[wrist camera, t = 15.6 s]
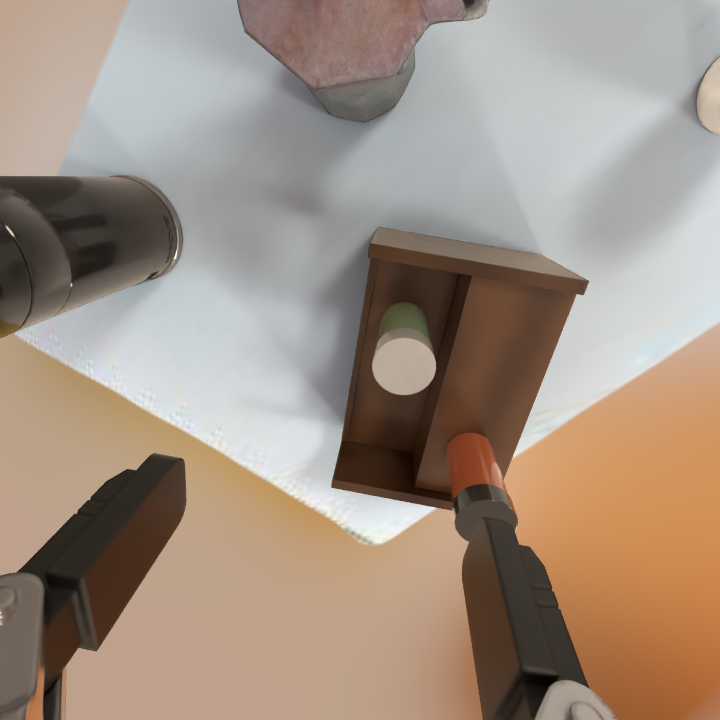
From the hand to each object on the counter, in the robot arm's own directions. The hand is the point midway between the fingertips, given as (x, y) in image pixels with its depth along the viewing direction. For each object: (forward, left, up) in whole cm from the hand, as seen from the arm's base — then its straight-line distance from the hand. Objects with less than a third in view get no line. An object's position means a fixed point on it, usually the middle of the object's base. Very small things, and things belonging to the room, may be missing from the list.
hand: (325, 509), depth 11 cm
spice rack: (+7, -7, -30) cm, 31 cm away
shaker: (+3, -3, -26) cm, 26 cm away
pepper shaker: (+10, -12, -21) cm, 26 cm away
